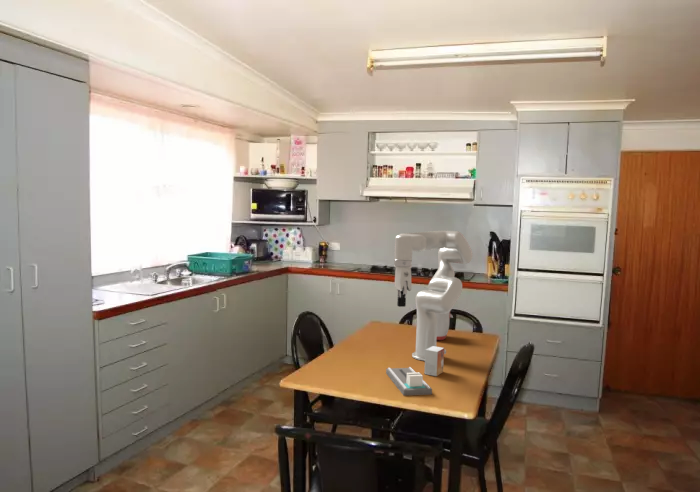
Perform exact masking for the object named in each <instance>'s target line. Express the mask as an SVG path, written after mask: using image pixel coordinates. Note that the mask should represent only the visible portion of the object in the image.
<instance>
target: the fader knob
mask: <svg viewBox="0 0 700 492" xmlns="http://www.w3.org/2000/svg"><path fill="white" fill-rule="evenodd" d="M423 376H424V375H422V373H420V372H416V371H415V373H407V380H406V383H407V384H408V385H409V387H415V386H422V382H423V380H424V379H423V378H424V377H423Z"/></svg>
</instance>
